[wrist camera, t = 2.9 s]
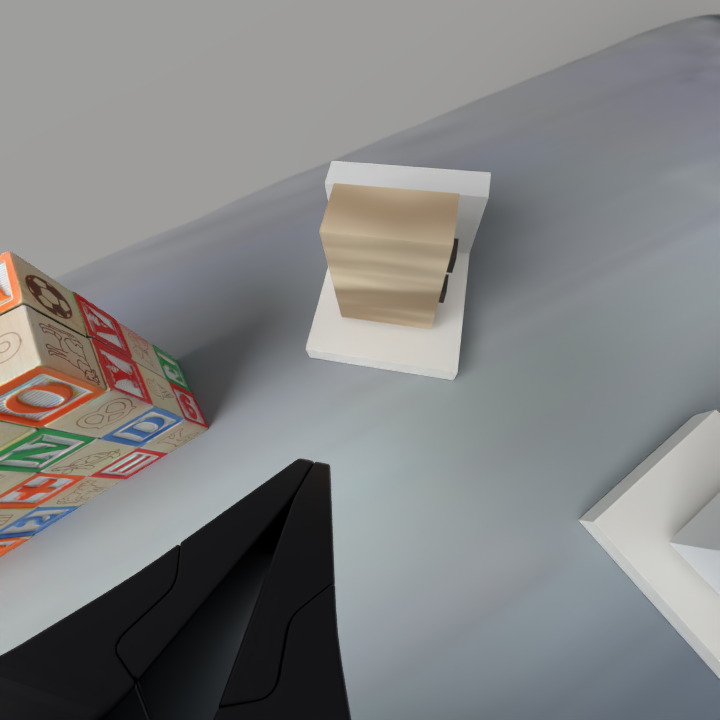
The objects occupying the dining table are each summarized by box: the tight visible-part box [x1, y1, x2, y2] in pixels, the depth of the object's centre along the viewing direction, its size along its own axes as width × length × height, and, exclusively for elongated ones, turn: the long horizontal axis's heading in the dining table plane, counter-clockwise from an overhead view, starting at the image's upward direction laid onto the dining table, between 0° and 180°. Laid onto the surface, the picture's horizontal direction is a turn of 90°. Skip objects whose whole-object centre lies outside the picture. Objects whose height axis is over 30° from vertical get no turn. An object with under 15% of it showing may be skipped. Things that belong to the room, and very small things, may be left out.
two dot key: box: [319, 183, 460, 329], centre depth 19 cm, size 3×6×8 cm, turn 79°
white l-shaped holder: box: [306, 161, 491, 380], centre depth 22 cm, size 12×10×6 cm
